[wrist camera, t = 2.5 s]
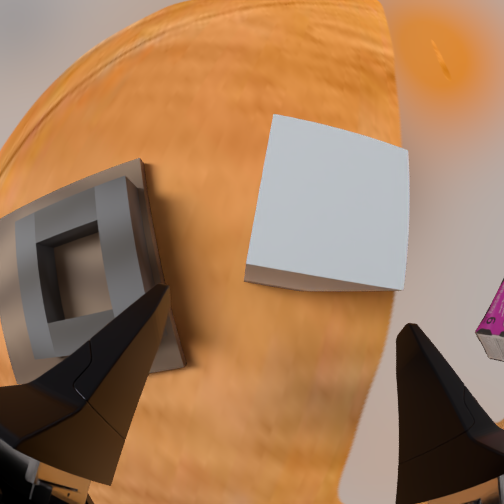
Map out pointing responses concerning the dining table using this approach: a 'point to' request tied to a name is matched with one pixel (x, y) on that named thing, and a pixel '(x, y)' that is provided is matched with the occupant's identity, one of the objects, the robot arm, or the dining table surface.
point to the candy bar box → (493, 327)
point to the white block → (330, 211)
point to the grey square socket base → (78, 269)
